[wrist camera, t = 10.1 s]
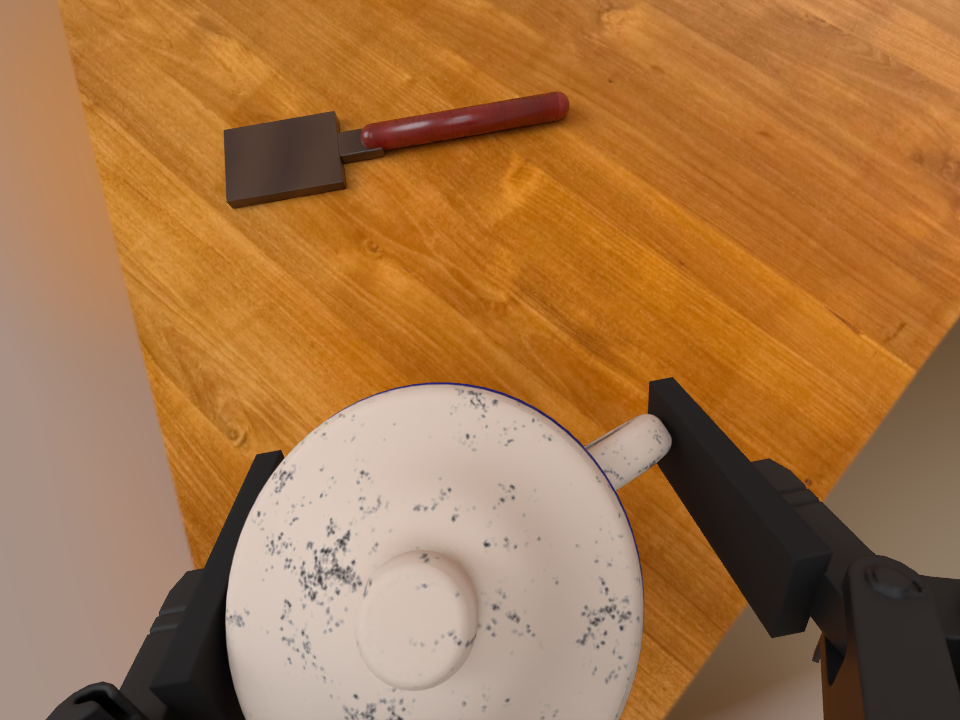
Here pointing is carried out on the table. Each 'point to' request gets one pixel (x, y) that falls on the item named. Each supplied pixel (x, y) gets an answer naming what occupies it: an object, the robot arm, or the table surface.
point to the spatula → (354, 145)
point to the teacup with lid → (442, 566)
